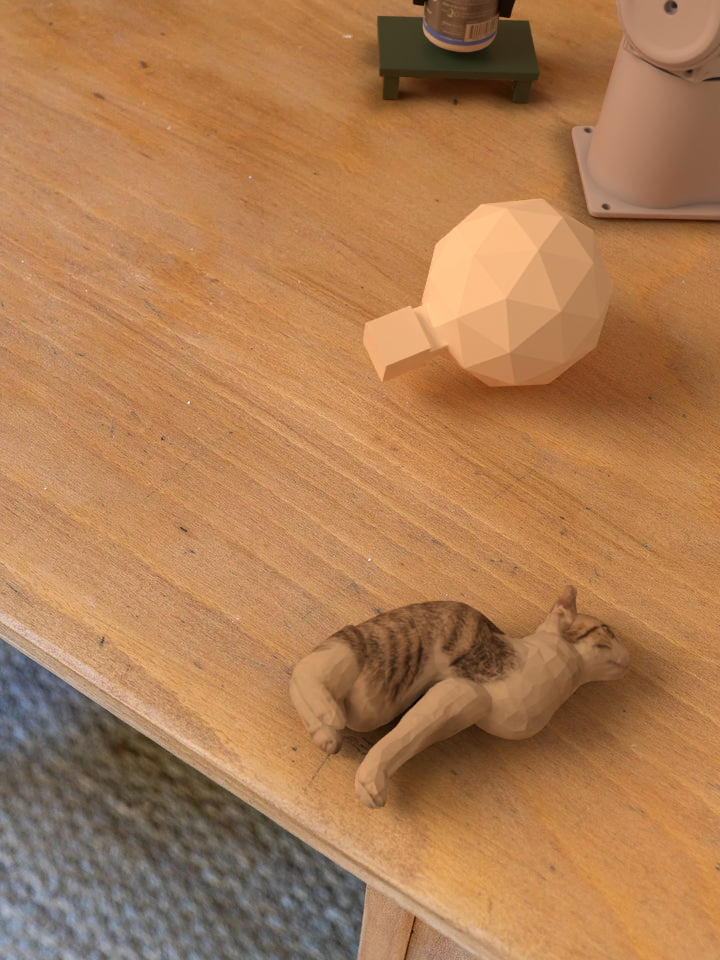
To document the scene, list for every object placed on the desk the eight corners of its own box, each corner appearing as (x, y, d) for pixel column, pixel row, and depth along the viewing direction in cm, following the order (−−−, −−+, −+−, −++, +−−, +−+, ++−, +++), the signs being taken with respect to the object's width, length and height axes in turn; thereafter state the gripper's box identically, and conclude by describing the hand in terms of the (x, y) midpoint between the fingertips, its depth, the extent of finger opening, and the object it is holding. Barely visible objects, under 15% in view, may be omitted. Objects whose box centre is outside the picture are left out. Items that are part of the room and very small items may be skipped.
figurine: (582, 1084, 28) (874, 782, 34) (273, 659, 34) (567, 462, 39) (542, 1078, 32) (811, 807, 37) (270, 697, 37) (539, 512, 43)
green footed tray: (522, 52, 63) (529, 20, 61) (532, 105, 60) (540, 73, 58) (375, 48, 63) (377, 15, 61) (377, 101, 60) (379, 68, 58)
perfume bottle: (536, 233, 51) (334, 312, 49) (585, 132, 42) (340, 224, 40) (609, 372, 49) (403, 459, 47) (677, 298, 40) (426, 401, 38)
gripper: (339, -253, 44) (333, 21, 56) (646, -215, 43) (577, 57, 55) (365, -307, 48) (355, -40, 59) (648, -273, 47) (582, -8, 59)
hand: (462, 2), depth 57 cm, fingers closed on pill bottle, 5 cm apart
